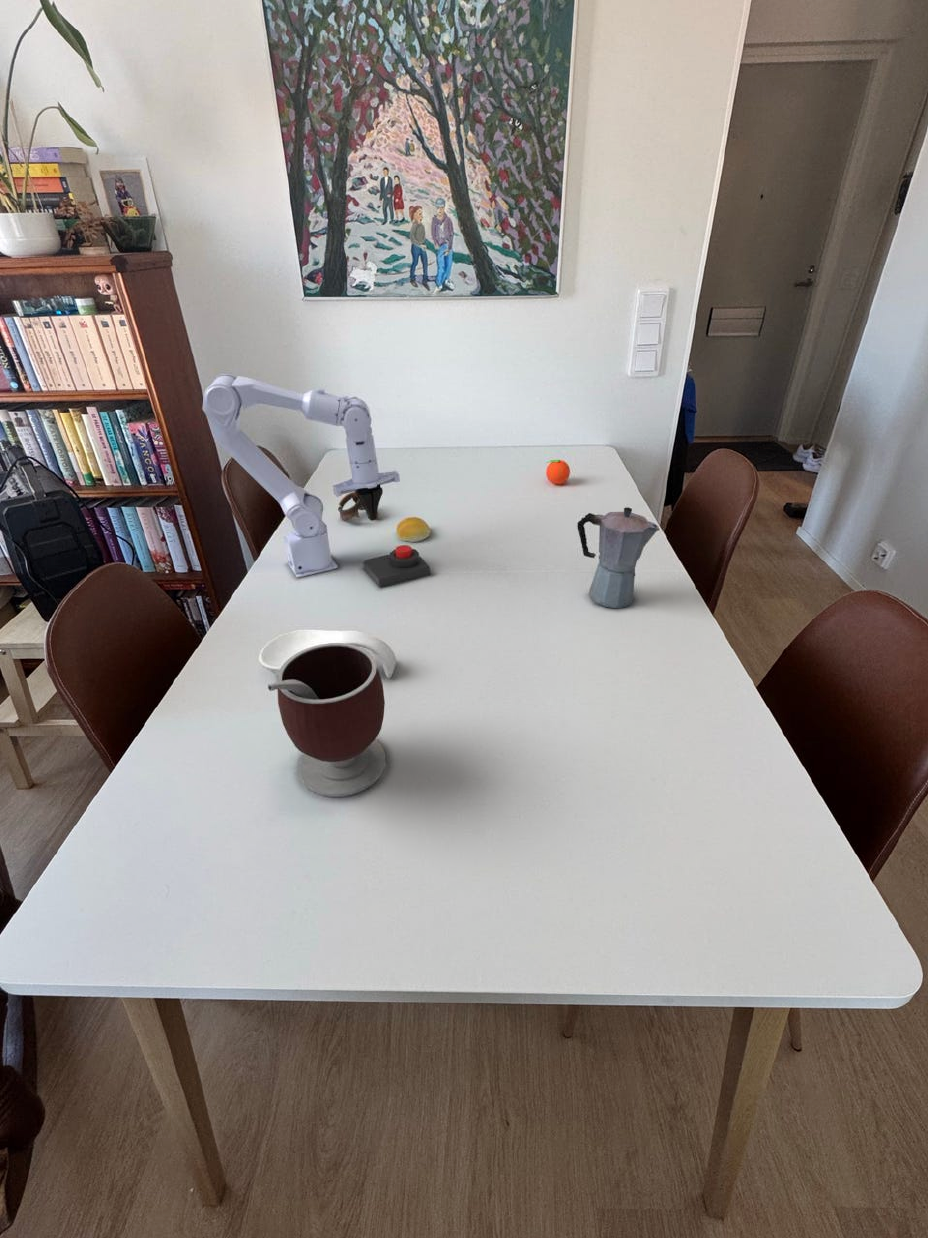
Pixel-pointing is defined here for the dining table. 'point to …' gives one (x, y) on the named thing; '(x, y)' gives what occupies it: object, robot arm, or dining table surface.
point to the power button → (403, 551)
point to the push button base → (396, 568)
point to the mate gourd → (333, 716)
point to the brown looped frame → (354, 509)
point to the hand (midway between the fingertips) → (372, 518)
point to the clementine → (557, 471)
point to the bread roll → (413, 529)
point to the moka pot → (616, 554)
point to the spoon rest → (299, 640)
